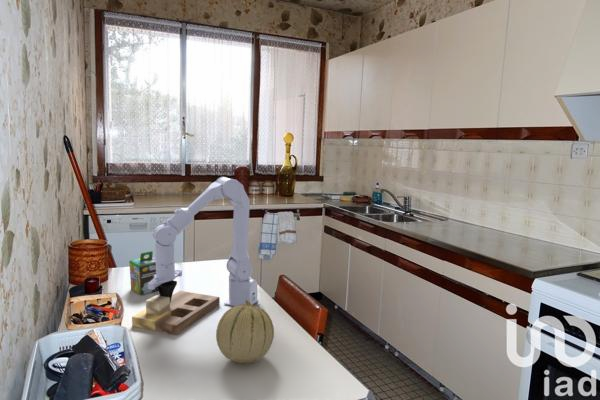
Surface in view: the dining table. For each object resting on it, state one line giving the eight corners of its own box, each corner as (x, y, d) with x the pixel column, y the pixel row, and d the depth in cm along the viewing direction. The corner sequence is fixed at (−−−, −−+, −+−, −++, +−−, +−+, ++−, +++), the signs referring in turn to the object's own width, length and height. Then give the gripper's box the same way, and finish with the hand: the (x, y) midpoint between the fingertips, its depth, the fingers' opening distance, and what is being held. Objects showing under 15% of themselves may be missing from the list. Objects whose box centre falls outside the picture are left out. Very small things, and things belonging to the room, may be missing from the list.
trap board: (219, 305, 146) (219, 297, 145) (176, 335, 124) (176, 325, 123) (180, 298, 151) (180, 290, 151) (132, 326, 129) (131, 316, 129)
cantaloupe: (219, 378, 101) (218, 319, 99) (214, 349, 115) (213, 296, 113) (279, 370, 105) (280, 313, 103) (268, 343, 119) (268, 292, 117)
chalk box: (153, 284, 166) (151, 247, 164) (164, 290, 160) (163, 251, 158) (129, 289, 160) (128, 251, 158) (140, 296, 153) (138, 256, 151)
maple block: (169, 309, 134) (169, 297, 134) (159, 315, 130) (159, 303, 129) (156, 307, 136) (156, 295, 135) (146, 313, 131) (145, 300, 131)
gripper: (169, 255, 143) (170, 294, 144) (138, 267, 129) (140, 310, 131) (187, 258, 140) (187, 297, 142) (158, 270, 127) (159, 313, 129)
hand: (166, 303), depth 136 cm, fingers closed
